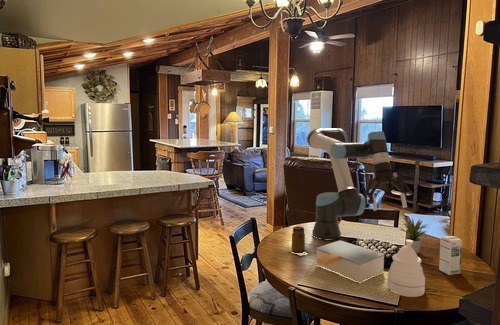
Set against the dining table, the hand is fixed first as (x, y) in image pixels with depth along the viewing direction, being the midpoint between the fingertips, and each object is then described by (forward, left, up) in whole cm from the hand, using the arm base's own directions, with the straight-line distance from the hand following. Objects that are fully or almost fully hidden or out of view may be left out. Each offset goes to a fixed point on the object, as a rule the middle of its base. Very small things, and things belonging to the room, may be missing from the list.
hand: (390, 209), depth 166 cm
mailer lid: (-3, -30, -16) cm, 34 cm away
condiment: (-30, -27, -23) cm, 46 cm away
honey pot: (+21, -23, -23) cm, 39 cm away
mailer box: (-3, -25, -23) cm, 34 cm away
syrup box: (+24, +6, -23) cm, 34 cm away
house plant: (+3, +16, -23) cm, 28 cm away
